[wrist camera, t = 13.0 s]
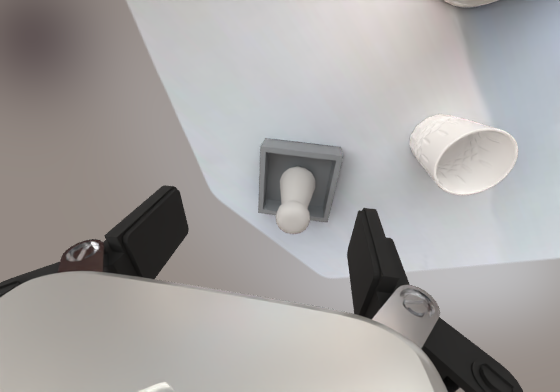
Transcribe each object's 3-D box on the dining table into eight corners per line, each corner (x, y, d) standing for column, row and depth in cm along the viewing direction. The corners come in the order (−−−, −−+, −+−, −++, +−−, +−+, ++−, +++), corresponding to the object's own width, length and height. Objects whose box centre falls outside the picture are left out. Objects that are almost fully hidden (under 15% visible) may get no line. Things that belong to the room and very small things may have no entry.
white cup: (476, 112, 31) (536, 132, 23) (449, 165, 35) (492, 199, 27) (416, 106, 32) (453, 124, 23) (397, 159, 36) (422, 191, 27)
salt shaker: (315, 192, 40) (315, 243, 29) (283, 192, 41) (271, 241, 30) (315, 160, 37) (315, 204, 26) (280, 161, 38) (266, 204, 27)
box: (340, 147, 36) (343, 156, 33) (326, 209, 42) (327, 222, 39) (265, 138, 37) (260, 146, 33) (262, 200, 43) (258, 212, 40)
